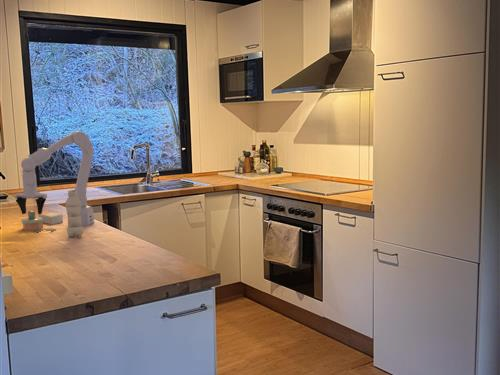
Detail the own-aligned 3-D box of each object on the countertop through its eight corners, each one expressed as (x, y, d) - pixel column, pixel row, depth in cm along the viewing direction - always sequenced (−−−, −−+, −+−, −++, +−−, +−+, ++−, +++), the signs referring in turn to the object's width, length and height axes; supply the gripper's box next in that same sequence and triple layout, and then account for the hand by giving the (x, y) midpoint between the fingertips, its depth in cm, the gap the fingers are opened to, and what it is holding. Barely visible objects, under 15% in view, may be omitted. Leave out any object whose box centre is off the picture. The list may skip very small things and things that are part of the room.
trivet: (61, 229, 238) (60, 228, 238) (48, 235, 228) (48, 233, 228) (41, 229, 240) (41, 228, 240) (27, 234, 230) (27, 233, 230)
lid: (46, 221, 241) (46, 210, 240) (29, 224, 234) (28, 214, 233) (35, 218, 246) (34, 208, 245) (17, 222, 239) (16, 212, 238)
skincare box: (49, 211, 260) (62, 214, 252) (50, 219, 261) (63, 223, 253) (38, 213, 255) (51, 216, 248) (38, 222, 256) (51, 225, 248)
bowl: (46, 227, 244) (45, 219, 243) (35, 231, 236) (35, 223, 236) (30, 226, 245) (30, 219, 245) (20, 230, 238) (19, 223, 237)
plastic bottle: (85, 235, 227) (82, 189, 224) (80, 238, 220) (77, 191, 218) (70, 235, 227) (67, 189, 224) (65, 239, 220) (62, 192, 217)
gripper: (49, 183, 241) (51, 212, 243) (19, 183, 243) (21, 212, 244) (41, 185, 234) (43, 215, 236) (11, 185, 236) (13, 214, 238)
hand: (32, 213), depth 240 cm, fingers open, 7 cm apart
